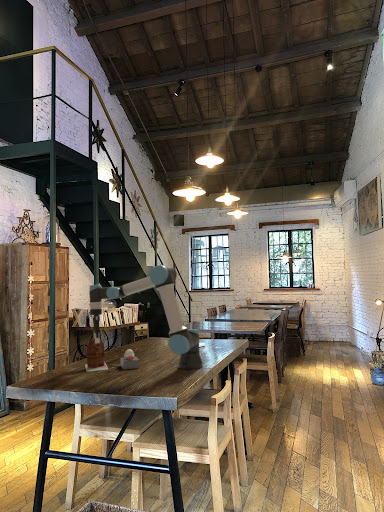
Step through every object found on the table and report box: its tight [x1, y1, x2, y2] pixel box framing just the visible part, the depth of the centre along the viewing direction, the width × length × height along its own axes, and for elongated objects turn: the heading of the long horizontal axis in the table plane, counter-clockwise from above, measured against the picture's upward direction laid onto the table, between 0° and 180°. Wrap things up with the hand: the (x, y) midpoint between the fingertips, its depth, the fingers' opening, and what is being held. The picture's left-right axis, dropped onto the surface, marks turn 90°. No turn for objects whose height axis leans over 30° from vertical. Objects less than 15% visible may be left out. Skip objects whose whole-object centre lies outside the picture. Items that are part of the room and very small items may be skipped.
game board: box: [84, 362, 109, 372], centre depth 241 cm, size 22×13×1 cm, turn 18°
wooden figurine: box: [86, 337, 106, 368], centre depth 242 cm, size 12×6×18 cm, turn 147°
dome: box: [123, 348, 135, 359], centre depth 241 cm, size 6×6×5 cm
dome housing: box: [120, 356, 140, 370], centre depth 239 cm, size 12×10×7 cm
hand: (96, 341), depth 243 cm, fingers open, 13 cm apart
